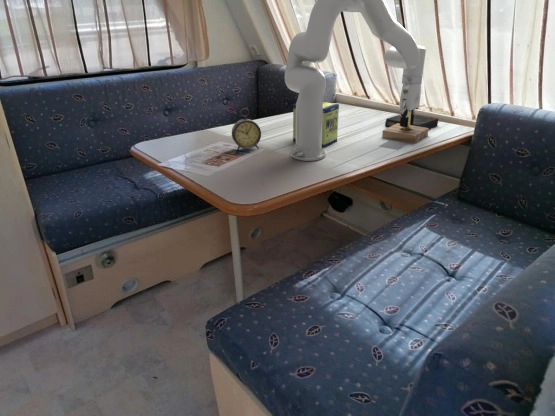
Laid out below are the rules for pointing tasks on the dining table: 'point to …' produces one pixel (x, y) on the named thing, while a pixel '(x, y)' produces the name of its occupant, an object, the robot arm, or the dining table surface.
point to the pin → (408, 121)
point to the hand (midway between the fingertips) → (406, 124)
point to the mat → (393, 144)
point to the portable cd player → (418, 121)
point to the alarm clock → (246, 133)
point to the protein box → (324, 123)
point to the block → (405, 133)
